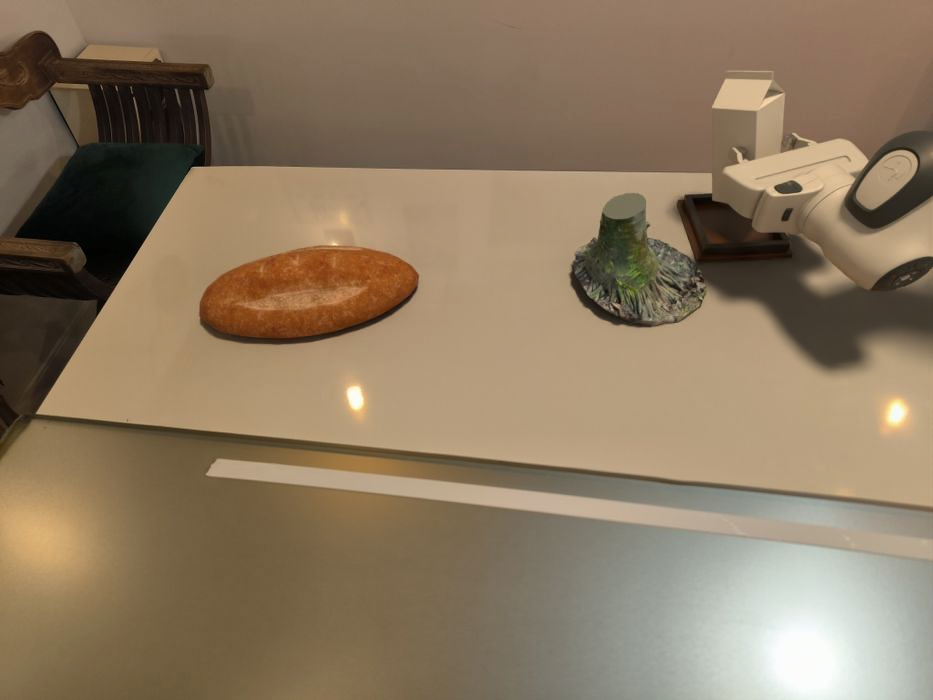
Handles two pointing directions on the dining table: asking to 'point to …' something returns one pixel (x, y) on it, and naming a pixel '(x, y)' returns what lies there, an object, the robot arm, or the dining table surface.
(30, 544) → the dining table surface
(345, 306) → the bread
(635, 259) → the tree stump
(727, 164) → the milk carton
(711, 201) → the tray
